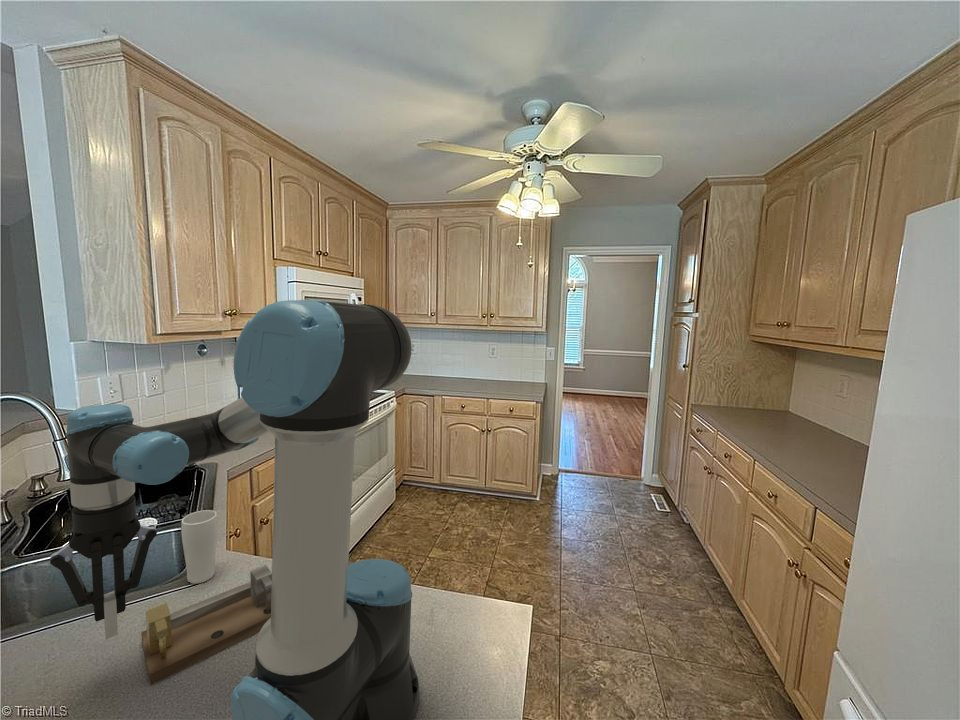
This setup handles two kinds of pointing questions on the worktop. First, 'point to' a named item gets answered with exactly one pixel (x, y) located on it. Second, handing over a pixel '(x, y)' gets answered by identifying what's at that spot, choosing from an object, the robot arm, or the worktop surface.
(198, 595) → the worktop surface
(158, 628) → the sliding leg
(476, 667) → the worktop surface
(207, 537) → the drinking glass
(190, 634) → the hole board
